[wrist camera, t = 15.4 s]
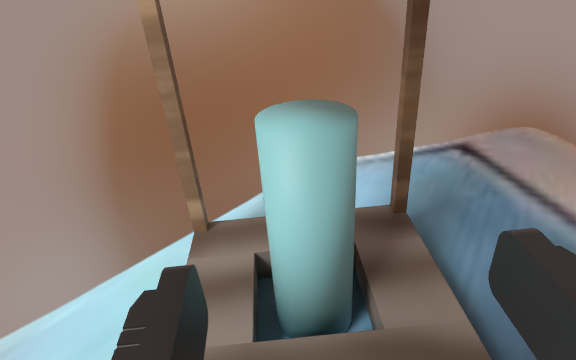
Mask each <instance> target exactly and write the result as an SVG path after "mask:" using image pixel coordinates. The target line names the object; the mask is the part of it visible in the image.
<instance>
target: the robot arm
mask: <svg viewBox="0 0 576 360" xmlns="http://www.w3.org/2000/svg"><path fill="white" fill-rule="evenodd" d="M489 284H490V288H491V291H492V293H493V295H494V297H495V298H496V300H497V301H498V303H499V304H500V306H501V307H502V309H503V310H504V312H505V313H506V314H507V316H508V317H509V319H510V320H511V322H512V323H513V325H514V326H515V328H516V329H517V330H518V332H519V333H520V335H521V336H522V338H523V339H524V341H525V342H526V344H527V345H528V346H529V348H530V349H531V351H532V352H533V354H534V355H535V357H536V358H537V360H576V255H575V254H574V253H572V252H570V251H568V250H567V249H565V248H563V247H561V246H555V245H554V244H553V243H552V242H551V241H550V240H549V239H548V238H547V237H546V236H545V235H544V234H543V233H542V232H540V231H539V230H537V229H535V228H529V229H520V230H511V231H503V232H502V233H501V234H500V235H499V238H498V241H497V245H496V248H495V252H494V256H493V259H492V263H491V267H490V270H489ZM207 332H208V308H207V303H206V299H205V296H204V292H203V289H202V286H201V282H200V279H199V275H198V272H197V269H196V267H195V265H184V266H175V267H166V268H164V269H163V271H162V273H161V277H160V280H159V283H158V286H157V289H156V290H147V291H144V292H143V293H142V294H141V295H140V297H139V298H138V299H137V300H136V302H135V303H134V304H133V305H132V306H131V308H130V309H129V312H128V315H127V318H126V320H125V323H124V326H123V332H121V334H120V337H119V340H118V343H117V349H115V351H114V354H113V356H112V359H111V360H204V354H205V346H206V339H207Z"/></svg>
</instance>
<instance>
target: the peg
mask: <svg viewBox="0 0 576 360" xmlns="http://www.w3.org/2000/svg"><path fill="white" fill-rule="evenodd" d="M357 126H358V114H357V112H356V110H355V109H353V108H352V107H350V106H348V105H346V104H343V103H339V102H334V101H327V100H297V101H290V102H285V103H280V104H277V105H273V106H271V107H269V108H266V109H264V110H263V111H261V112H260V113H258V114H257V116H256V117H255V129H256V137H257V146H258V155H259V163H260V171H261V180H262V189H263V198H264V207H265V215H266V224H267V233H268V241H269V250H270V258H271V267H272V276H273V284H274V293H275V302H276V310H277V319H278V323H279V326H280V328H281V329H282V331H283V332H284V333H285V335H287V336H288V337H289V338H290V339H291V338H300V337H310V336H320V335H330V334H340V333H346V331H347V330H348V328H349V326H350V324H351V319H352V291H353V259H354V226H355V194H356V161H357V129H358V127H357Z"/></svg>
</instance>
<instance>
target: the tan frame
mask: <svg viewBox="0 0 576 360" xmlns="http://www.w3.org/2000/svg"><path fill="white" fill-rule="evenodd" d="M137 4H138V8H139V12H140V16H141V20H142V24H143V28H144V32H145V36H146V40H147V44H148V48H149V52H150V56H151V60H152V64H153V68H154V72H155V76H156V80H157V84H158V88H159V92H160V96H161V100H162V104H163V108H164V112H165V116H166V120H167V124H168V128H169V132H170V136H171V140H172V144H173V148H174V152H175V156H176V160H177V164H178V168H179V172H180V176H181V180H182V184H183V188H184V192H185V196H186V201H187V205H188V209H189V213H190V216H191V221H192V224H193V229H194V236H193V240H192V244H191V249H190V253H189V257H188V261H187V265H195V267H196V269H197V272H198V275H199V279H200V282H201V286H202V289H203V292H204V296H205V299H206V303H207V308H208V332H207V339H206V346H205V354H204V360H492V359H491V357H490V356H489V354H488V352H487V350H486V349H485V347H484V345H483V344H482V342H481V340H480V338H479V337H478V335H477V333H476V332H475V330H474V328H473V326H472V325H471V323H470V321H469V319H468V318H467V316H466V314H465V313H464V311H463V309H462V307H461V306H460V304H459V302H458V301H457V299H456V297H455V295H454V294H453V292H452V290H451V289H450V287H449V285H448V283H447V282H446V280H445V278H444V276H443V275H442V273H441V271H440V270H439V268H438V266H437V264H436V263H435V261H434V259H433V258H432V256H431V254H430V252H429V251H428V249H427V247H426V246H425V244H424V242H423V240H422V239H421V237H420V235H419V234H418V232H417V230H416V228H415V227H414V225H413V223H412V221H411V220H410V218H409V216H408V215H407V213H406V209H407V200H408V191H409V182H410V173H411V164H412V155H413V147H414V138H415V129H416V120H417V111H418V101H419V93H420V84H421V75H422V67H423V58H424V48H425V39H426V31H427V21H428V13H429V5H430V0H408V1H407V13H406V25H405V37H404V48H403V61H402V72H401V84H400V85H401V86H400V95H399V108H398V119H397V131H396V142H395V154H394V166H393V178H392V189H391V201H390V205H384V206H373V207H363V208H355V226H354V259H353V268H355V271H356V274H357V278H358V281H359V284H360V287H361V291H362V294H363V297H364V300H365V304H366V307H367V310H368V313H369V317H370V320H371V323H372V326H373V330H369V331H360V332H350V333H340V334H330V335H320V336H310V337H300V338H291V339H281V340H271V341H261V342H258V278H260V277H271V276H272V267H271V258H270V250H269V241H268V233H267V224H266V217H257V218H246V219H236V220H225V221H215V222H208V219H207V214H206V211H205V205H204V202H203V196H202V192H201V187H200V183H199V178H198V174H197V170H196V166H195V160H194V156H193V151H192V147H191V143H190V138H189V133H188V129H187V124H186V120H185V115H184V111H183V106H182V102H181V97H180V93H179V89H178V84H177V79H176V75H175V70H174V66H173V61H172V56H171V52H170V47H169V43H168V38H167V34H166V29H165V25H164V20H163V16H162V12H161V7H160V2H159V0H137Z"/></svg>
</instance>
